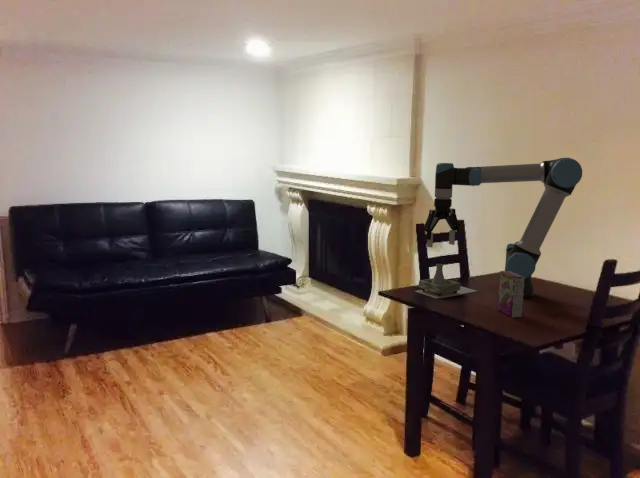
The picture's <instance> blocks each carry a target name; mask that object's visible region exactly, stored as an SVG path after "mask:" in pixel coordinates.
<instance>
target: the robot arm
mask: <svg viewBox="0 0 640 478" xmlns="http://www.w3.org/2000/svg"><path fill="white" fill-rule="evenodd" d="M582 177H583V169H582V165H581V164H580V162H578V161H577V160H576V159H574V158H571V157H561V158H557V159H556V158H555V159H551V160H542V161H541V162H540V163H524V164H507V165H489V166H488V165H487V166H468V167H455V165H454V163H452V162H439V163H437V164H436V166H435V179H434V201H433V206H434V208H435V209H429V211H428V212H429V213H428V216H427V219H426V220H425V224H424V226H423V228H422V231H424V232H425V233H426V247H427V248H428V247H429V248H433V244H434V243H433V242H434V241H433V240H434V232H433V230H434V229H435V227H436V226H437V224H439V223H438V222H439V221H441V220H445V221H446V223H447V225H448V227H449V234H448V235H449V236H448V237H449V238H448V245H451V246H454V245H456V244H455V239H456V235H457V231H459V229H460V228H461V227H460V224H459V220H458V218H457V213H456V208H453V207H452V203H453V201H452V198H453V186H466V187H467V186H471V187H475V186H481V184H497V183H517V182H521V183H523V182H541V183H543V186H544V191H543V193H542V195H541V197H540V198H539V202H538V203H537V205H536V207H535V209H534V212H533V214H532V216H531V218H530V220H529V221H528V224H527V226H526V227H525V230H524V232H523V234H522V236H521V237H520V240H519V241H515V242H514V243H508V244H507V245H506V248H505V265H504V271H511V272H514V273H516V274H518V275H521V276H523V277H525V283H524V297H523V299H524V298H525V299H526V298H531V297H535V288H534V285H533V284H534V283H533V279H532V275H533V274H534V272H535V271H536V267H537V263H538V261H539V259H540V258H541V255H542V253H541V250H540V249H541V247H542V245H543V244H544V242H545V239H546V237H547V235H548V234H549V233H548V232H549V231H550V230H551V227H552V226H553V223H554V221H555V219H556V217H557V214H558V213H559V211H560V209H561V207H562V205H563V203H564V202H565V201H564V200H565V199H566V198H567V197H569V196H571V195H572V193H573V192H574V190H575V188H576V186H577V184H578V183H579V182H580V181H581V179H582Z"/></svg>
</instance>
